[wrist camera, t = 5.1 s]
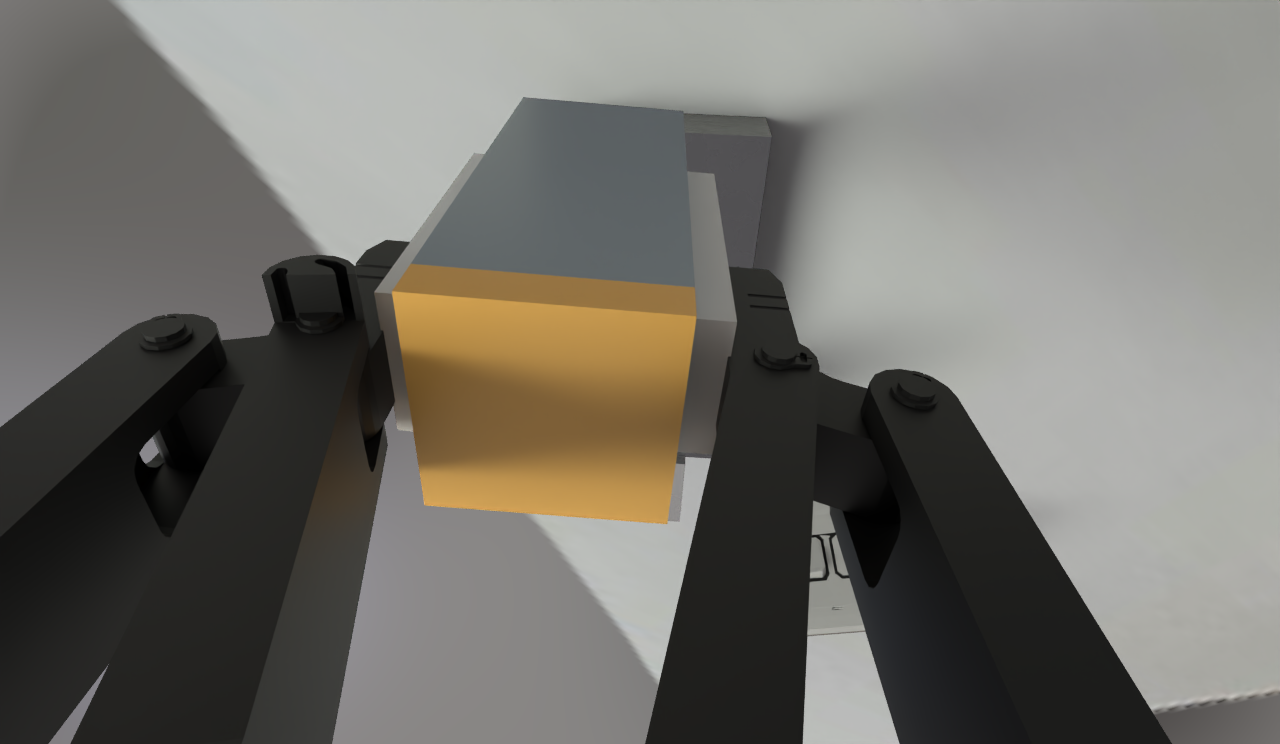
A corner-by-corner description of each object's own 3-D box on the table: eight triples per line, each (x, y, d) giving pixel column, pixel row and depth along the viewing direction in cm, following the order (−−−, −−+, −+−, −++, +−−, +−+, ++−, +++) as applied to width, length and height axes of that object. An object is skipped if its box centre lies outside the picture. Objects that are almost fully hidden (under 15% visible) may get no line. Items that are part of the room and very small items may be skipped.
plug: (683, 111, 17) (697, 315, 9) (667, 256, 19) (667, 524, 11) (523, 97, 17) (391, 291, 9) (526, 244, 19) (425, 505, 11)
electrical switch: (884, 483, 48) (920, 606, 41) (884, 527, 51) (917, 647, 44) (749, 497, 49) (761, 618, 42) (757, 539, 53) (769, 658, 46)
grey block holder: (765, 117, 34) (794, 206, 25) (723, 427, 45) (732, 563, 36) (561, 107, 34) (517, 192, 25) (572, 418, 46) (545, 551, 37)
